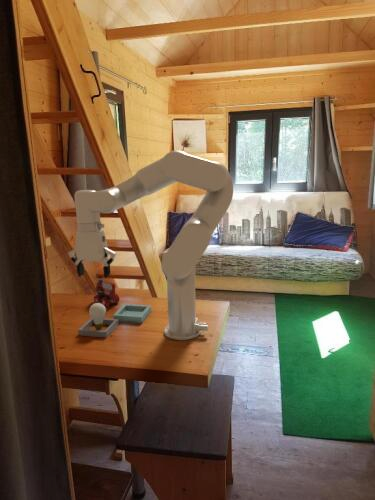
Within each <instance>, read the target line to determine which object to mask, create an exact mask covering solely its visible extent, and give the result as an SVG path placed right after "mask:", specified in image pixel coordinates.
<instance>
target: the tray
mask: <svg viewBox="0 0 375 500" xmlns="http://www.w3.org/2000/svg"><path fill="white" fill-rule="evenodd" d="M151 313H152V305H146V304H129V303H128V304H127V303H124V304H123V305H122V306H121V307H120V308H119V309H118V310H117V311H116V312H114V314H113V315H112V316H113V318H112V319H118V323H127V324H128V323H130V324H143V323H144V322H145V321H146V319H147V318H148V317H149V316H150V314H151Z"/></svg>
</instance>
